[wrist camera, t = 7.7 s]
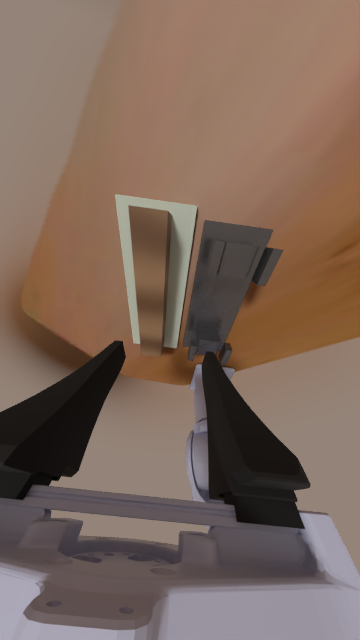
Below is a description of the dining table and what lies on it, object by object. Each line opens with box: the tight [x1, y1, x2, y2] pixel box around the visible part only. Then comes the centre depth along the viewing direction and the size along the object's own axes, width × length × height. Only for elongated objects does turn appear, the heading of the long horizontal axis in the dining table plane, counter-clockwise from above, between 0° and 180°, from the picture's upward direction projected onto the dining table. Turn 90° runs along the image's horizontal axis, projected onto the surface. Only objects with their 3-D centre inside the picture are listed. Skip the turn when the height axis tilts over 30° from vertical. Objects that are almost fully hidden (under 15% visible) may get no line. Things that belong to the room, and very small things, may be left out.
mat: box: [115, 194, 197, 348], centre depth 18 cm, size 20×8×1 cm, turn 173°
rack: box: [183, 220, 283, 365], centre depth 17 cm, size 18×7×5 cm, turn 173°
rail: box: [128, 205, 172, 357], centre depth 17 cm, size 18×3×3 cm, turn 173°
